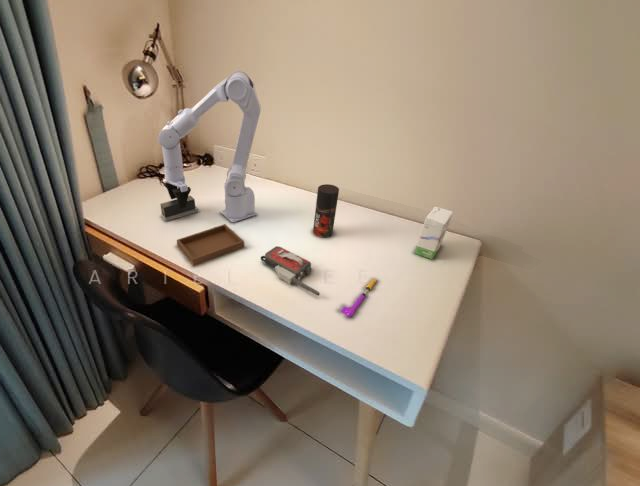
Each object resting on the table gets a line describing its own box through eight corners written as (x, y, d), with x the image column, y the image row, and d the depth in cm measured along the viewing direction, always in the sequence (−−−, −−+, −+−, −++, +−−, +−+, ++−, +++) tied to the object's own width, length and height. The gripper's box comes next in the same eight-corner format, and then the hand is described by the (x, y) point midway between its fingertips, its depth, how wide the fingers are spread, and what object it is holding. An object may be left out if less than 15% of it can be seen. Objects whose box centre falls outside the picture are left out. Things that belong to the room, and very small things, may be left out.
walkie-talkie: (254, 265, 97) (315, 300, 85) (254, 252, 94) (317, 287, 82) (275, 251, 102) (335, 283, 90) (276, 238, 99) (338, 269, 87)
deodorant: (336, 231, 110) (342, 188, 101) (325, 240, 106) (332, 195, 98) (319, 225, 113) (325, 182, 105) (309, 232, 109) (313, 189, 101)
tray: (225, 230, 112) (225, 223, 111) (244, 247, 104) (244, 241, 102) (177, 246, 105) (176, 239, 104) (193, 266, 97) (192, 259, 96)
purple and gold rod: (350, 318, 80) (377, 282, 90) (350, 314, 79) (377, 278, 90) (339, 315, 82) (367, 279, 92) (339, 311, 81) (366, 276, 91)
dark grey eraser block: (193, 207, 125) (192, 194, 122) (198, 211, 122) (197, 198, 119) (161, 216, 120) (159, 203, 117) (165, 221, 117) (163, 208, 114)
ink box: (432, 260, 97) (445, 223, 90) (413, 253, 100) (425, 217, 93) (441, 246, 102) (454, 210, 96) (423, 240, 105) (434, 205, 98)
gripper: (153, 160, 114) (159, 197, 122) (170, 175, 104) (175, 215, 112) (173, 155, 117) (178, 192, 125) (192, 170, 107) (195, 209, 114)
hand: (178, 202), depth 118 cm, fingers open, 7 cm apart
